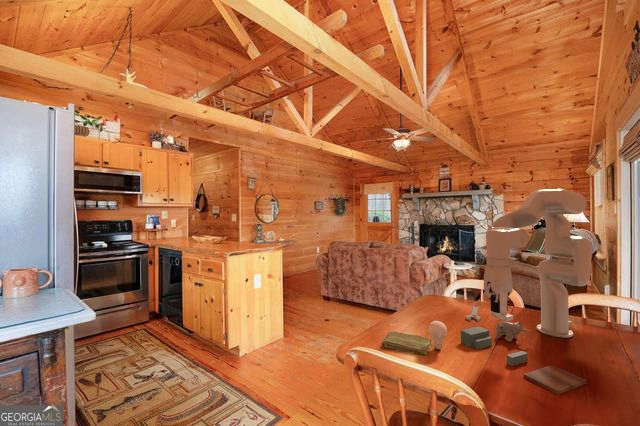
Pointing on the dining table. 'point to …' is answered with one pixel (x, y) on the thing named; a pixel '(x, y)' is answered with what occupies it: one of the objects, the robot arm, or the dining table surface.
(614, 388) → the dining table surface
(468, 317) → the adjustable wrench
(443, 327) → the light bulb
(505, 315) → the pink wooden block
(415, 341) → the washcloth
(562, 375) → the walnut board
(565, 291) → the robot arm
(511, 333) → the grey monster figurine
